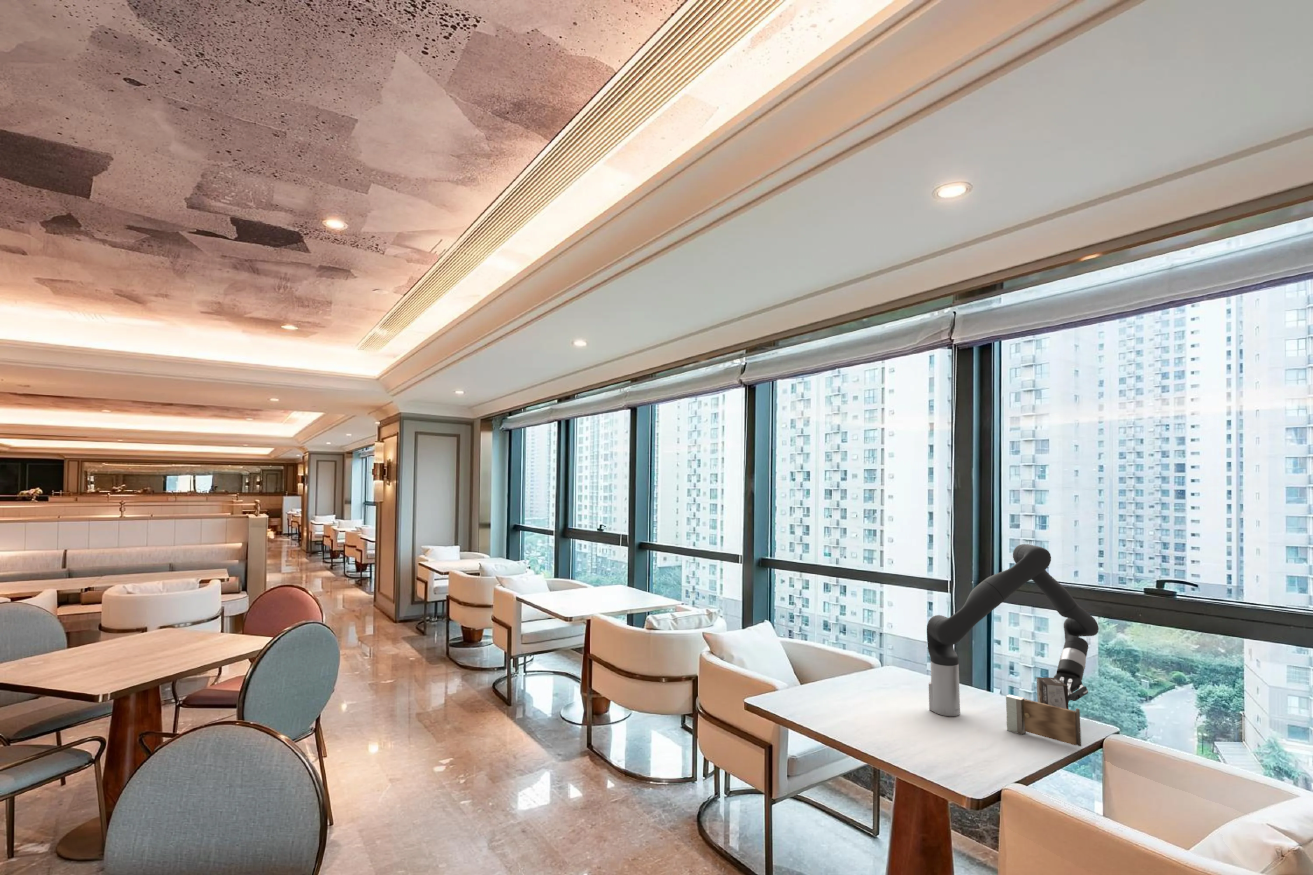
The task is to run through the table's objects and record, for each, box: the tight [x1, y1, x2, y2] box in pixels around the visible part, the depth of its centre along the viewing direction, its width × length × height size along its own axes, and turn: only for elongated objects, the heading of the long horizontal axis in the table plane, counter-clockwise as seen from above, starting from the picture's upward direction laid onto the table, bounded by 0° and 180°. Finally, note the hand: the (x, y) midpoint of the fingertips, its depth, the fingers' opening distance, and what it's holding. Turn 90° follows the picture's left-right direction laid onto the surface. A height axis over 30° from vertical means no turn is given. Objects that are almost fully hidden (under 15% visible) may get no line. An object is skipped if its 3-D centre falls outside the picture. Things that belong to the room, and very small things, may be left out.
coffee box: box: [1035, 676, 1070, 710], centre depth 209 cm, size 9×6×16 cm
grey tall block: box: [1005, 694, 1027, 736], centre depth 208 cm, size 5×3×11 cm, turn 41°
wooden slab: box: [1024, 699, 1082, 747], centre depth 199 cm, size 16×2×11 cm, turn 41°
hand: (1061, 708), depth 214 cm, fingers closed
